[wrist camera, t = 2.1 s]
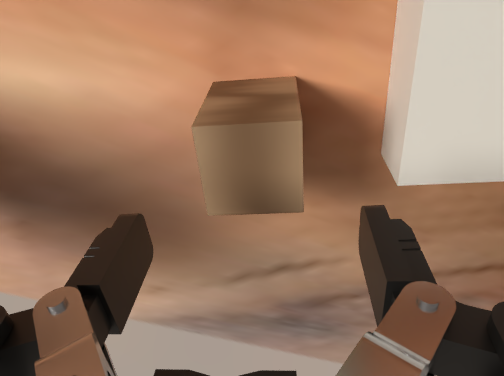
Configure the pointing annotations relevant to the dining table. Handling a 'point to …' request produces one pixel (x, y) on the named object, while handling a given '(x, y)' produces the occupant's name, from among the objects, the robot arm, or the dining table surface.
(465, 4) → the white block
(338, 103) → the dining table surface
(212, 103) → the walnut block
